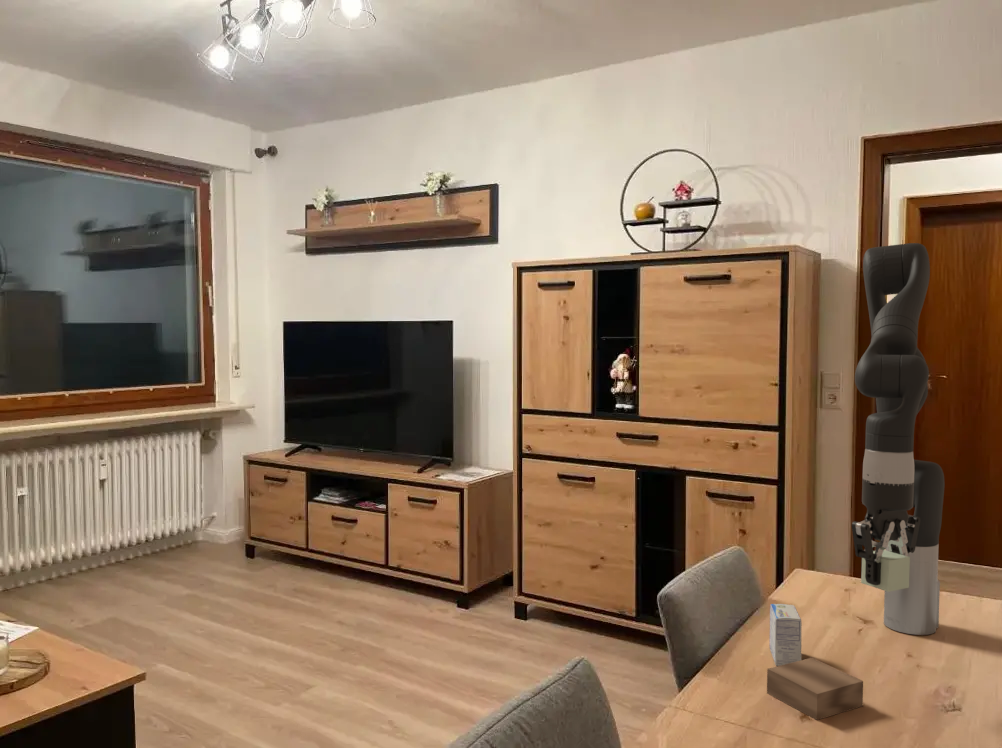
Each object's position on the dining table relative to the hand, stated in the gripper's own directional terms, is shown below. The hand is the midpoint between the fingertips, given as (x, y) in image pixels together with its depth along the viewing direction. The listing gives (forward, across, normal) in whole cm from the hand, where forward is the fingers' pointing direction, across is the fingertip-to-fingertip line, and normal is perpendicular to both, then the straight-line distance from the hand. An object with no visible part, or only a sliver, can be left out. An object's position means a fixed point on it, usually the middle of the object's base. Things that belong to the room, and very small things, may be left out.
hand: (884, 581), depth 130 cm
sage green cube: (+1, 0, 0) cm, 1 cm away
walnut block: (+18, +13, -2) cm, 22 cm away
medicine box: (+18, +5, -16) cm, 24 cm away
